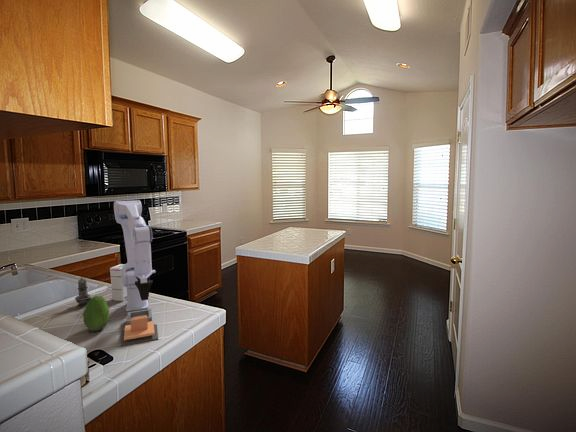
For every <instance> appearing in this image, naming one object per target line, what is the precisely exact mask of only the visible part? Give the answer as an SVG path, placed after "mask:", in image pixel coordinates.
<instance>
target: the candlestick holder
mask: <svg viewBox="0 0 576 432" xmlns="http://www.w3.org/2000/svg"><path fill="white" fill-rule="evenodd" d="M77 283H78V287H77V290H78V295H77V296H75V297H74V299H75V302H76V303H77V305H76V308H78V309H83V308H86V306H87V304H88V302H89V300H90V299H91V298H92V297H93V296H92V294H90V293H88V292H89V291H88V288H89V287H88V286H87V285H88V284H87V283H88V282H87V280H86V279H85V278H83V276H81V277H80V279H79V280H78V282H77Z"/></svg>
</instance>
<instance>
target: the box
mask: <svg viewBox="0 0 576 432" xmlns="http://www.w3.org/2000/svg"><path fill="white" fill-rule="evenodd" d="M152 314H153V313H152V308H146V309H139V310H132V311H127V317H126V325H131V317H137V316H143V315H147V322H150V321H153V315H152Z"/></svg>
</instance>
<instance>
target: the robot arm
mask: <svg viewBox="0 0 576 432" xmlns="http://www.w3.org/2000/svg"><path fill="white" fill-rule="evenodd" d="M113 212H114V218H115V219H114V220H115V221H116V223H117V224H119V225H121V228H122V232H123V239H124V246H125V254H126V259H127V262H126V263H124V264H125V265H124V266H123V267H122V269H121V279H122V284H123V286H124V287H126V289H127V299H126V301H127V302H126V307H125V311H126V312H133V311H140V310H146V309H149V297H150V289H151V286H152V285H153V281H154V280H151V277H152V274H155V273H156V269H153V267H152V265H153V264H152V247H151V246H152V245H151V243H152V242H153V230H152V227H151V225H147V223H146V221H145V219H144V217H142V212H143V205H142V202H141V200H139V199H137V200H115V201H114V202H113Z"/></svg>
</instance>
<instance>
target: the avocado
mask: <svg viewBox="0 0 576 432" xmlns="http://www.w3.org/2000/svg"><path fill="white" fill-rule="evenodd" d="M84 308H85V309H84V312H83V315H82V319H83V323H84V325H85V327H86V328H87V329H88V330H90V331H91V332H92V331H95V332H96V331H101V330H102V329H104V328H105V327H106V326H107V325H108V323H109V320H110V308H109V306H108V303H107V301H106V300H105V298H104V296H102V295H96V296H92V297H91V299H90V300H89V302H88V304H87V306H86V307H84Z"/></svg>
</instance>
